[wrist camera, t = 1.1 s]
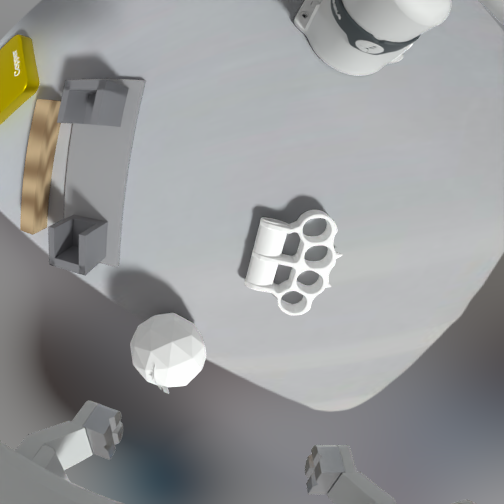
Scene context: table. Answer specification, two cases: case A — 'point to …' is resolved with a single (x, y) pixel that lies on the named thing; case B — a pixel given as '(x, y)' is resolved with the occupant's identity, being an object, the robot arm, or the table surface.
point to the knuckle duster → (291, 260)
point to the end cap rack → (95, 171)
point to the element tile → (16, 75)
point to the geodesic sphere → (168, 350)
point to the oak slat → (39, 166)
